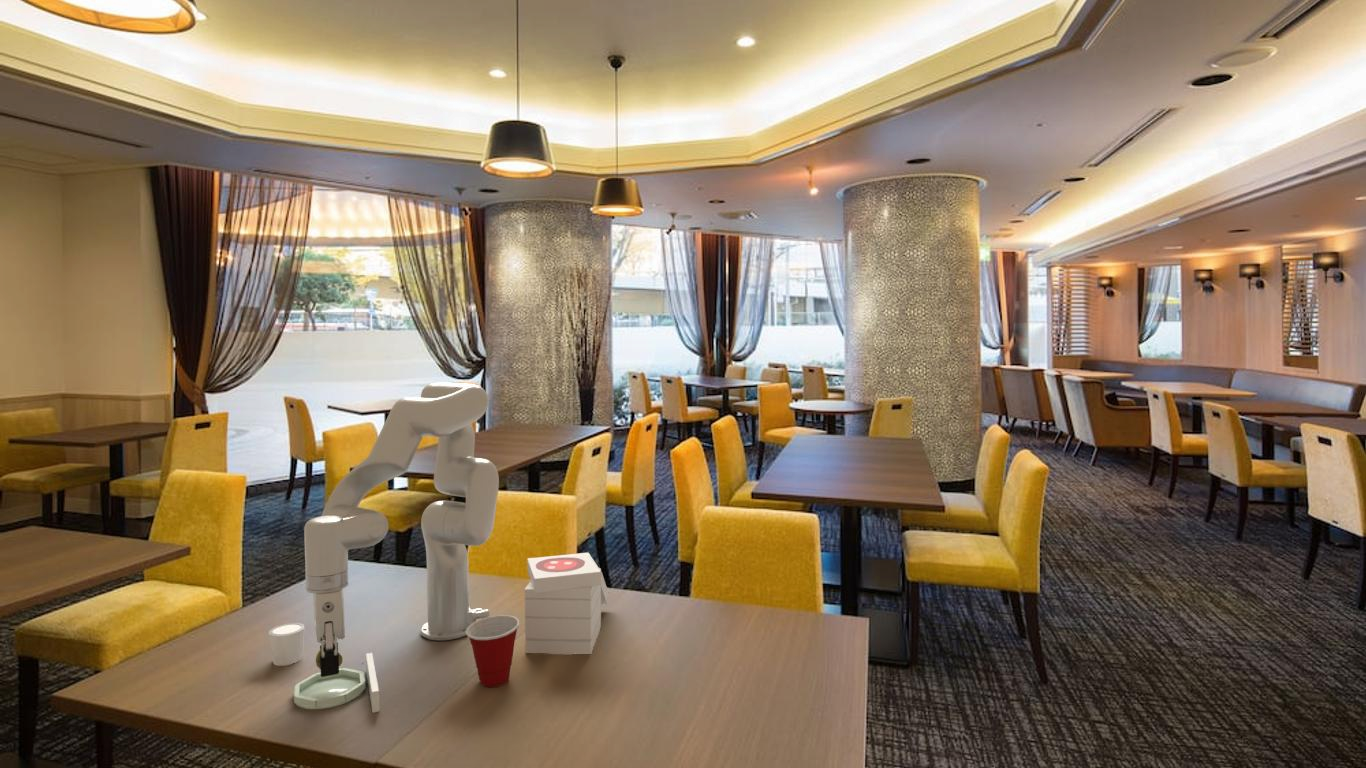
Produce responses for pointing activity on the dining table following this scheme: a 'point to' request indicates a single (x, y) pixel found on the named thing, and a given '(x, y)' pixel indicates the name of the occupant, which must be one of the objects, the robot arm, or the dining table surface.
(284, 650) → the white cylinder
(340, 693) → the dish
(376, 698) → the fence
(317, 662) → the lime
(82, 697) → the dining table surface
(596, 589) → the pizza boxes
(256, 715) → the dining table surface
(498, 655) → the plastic cup
